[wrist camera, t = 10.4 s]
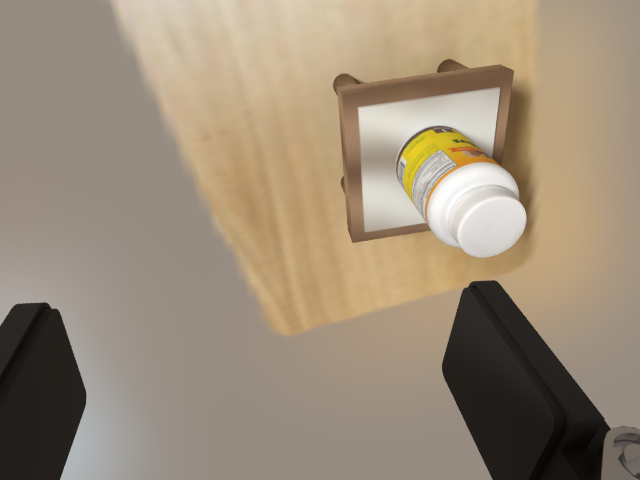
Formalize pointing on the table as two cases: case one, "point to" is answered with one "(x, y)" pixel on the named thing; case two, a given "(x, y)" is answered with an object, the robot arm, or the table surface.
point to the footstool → (399, 124)
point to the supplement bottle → (460, 191)
